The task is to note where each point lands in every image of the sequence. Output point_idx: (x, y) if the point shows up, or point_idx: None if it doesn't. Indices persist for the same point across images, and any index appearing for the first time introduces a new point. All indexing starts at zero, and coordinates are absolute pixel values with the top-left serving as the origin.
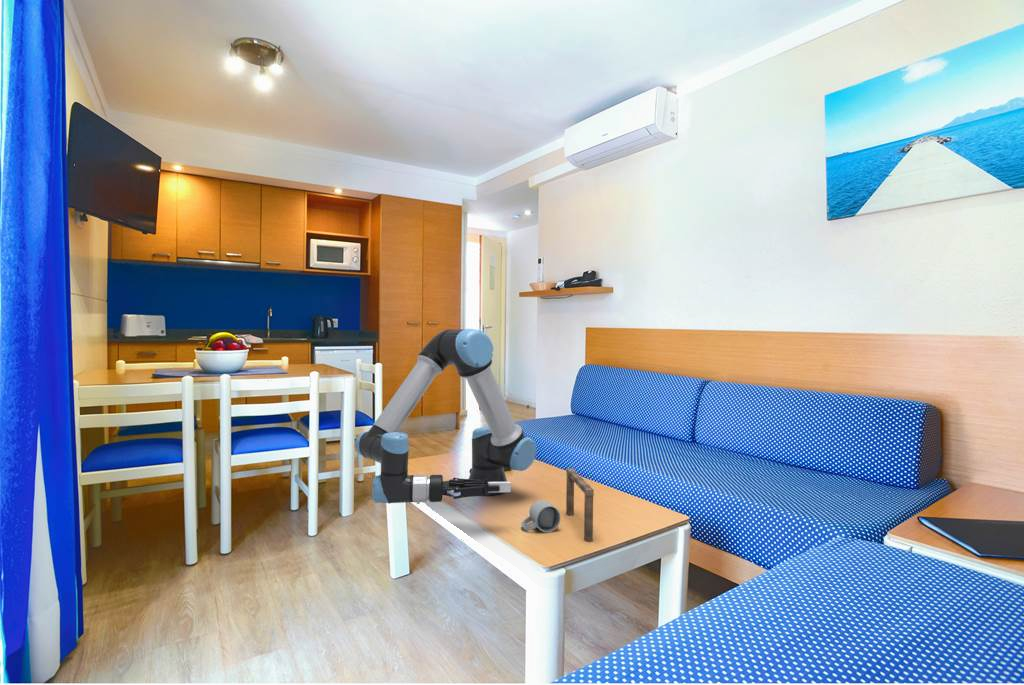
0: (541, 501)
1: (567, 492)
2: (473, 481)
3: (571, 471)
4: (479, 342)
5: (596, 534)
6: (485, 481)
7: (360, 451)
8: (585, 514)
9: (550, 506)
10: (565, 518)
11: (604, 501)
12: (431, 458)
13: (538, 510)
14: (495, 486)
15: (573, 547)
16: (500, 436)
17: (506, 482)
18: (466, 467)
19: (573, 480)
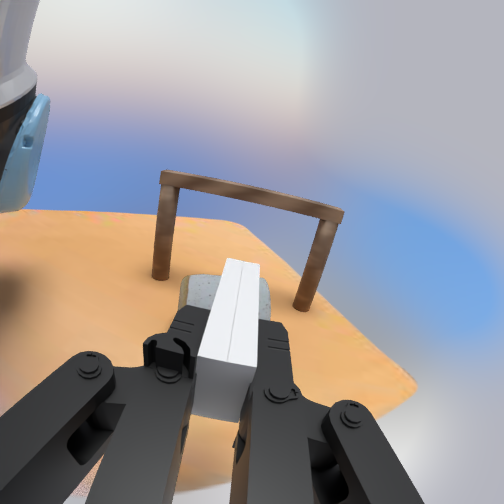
0: (209, 280)
1: (166, 230)
2: (39, 462)
3: (192, 175)
4: None
5: (276, 290)
6: (169, 370)
7: None
8: (322, 263)
9: (266, 282)
10: (179, 290)
11: (137, 230)
12: None
13: (261, 312)
14: (287, 343)
15: (336, 335)
16: None
17: (246, 272)
18: None
19: (228, 195)
